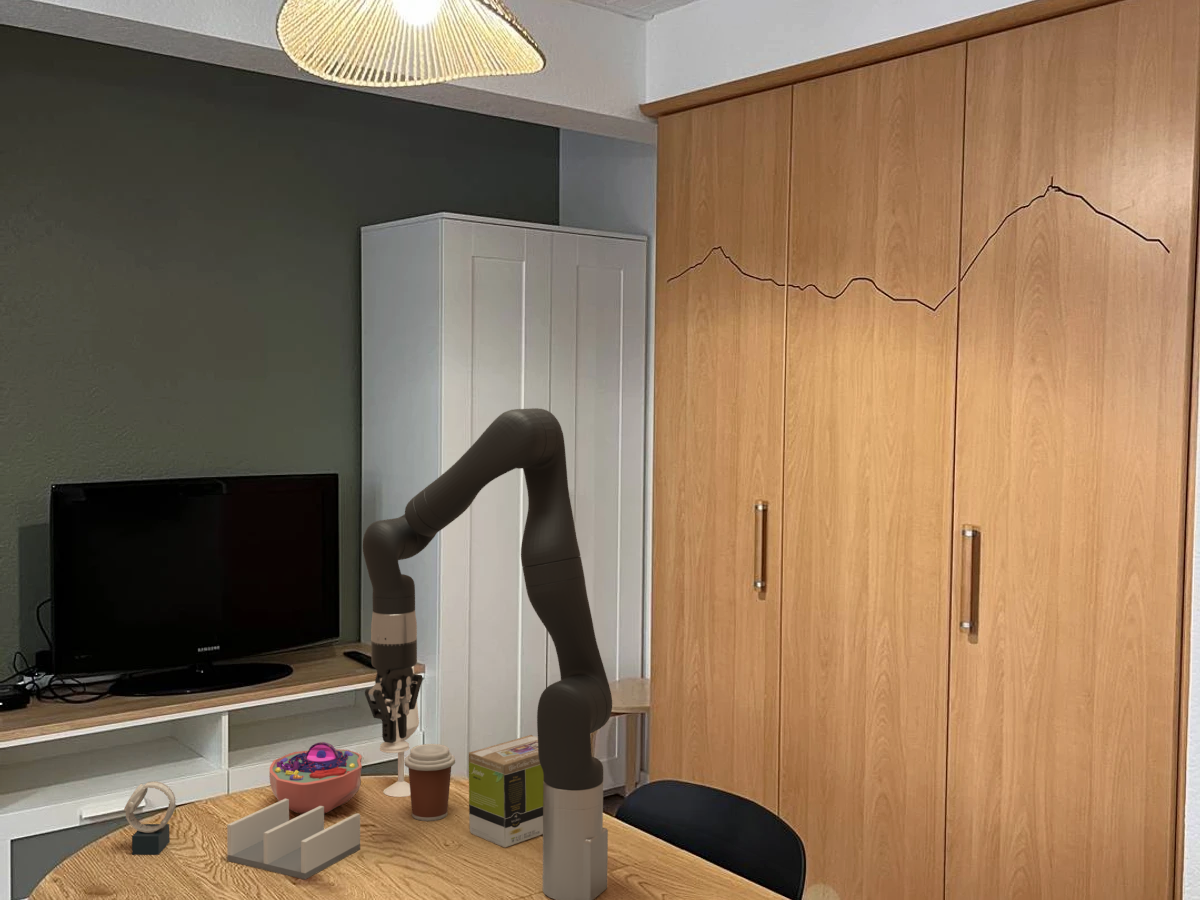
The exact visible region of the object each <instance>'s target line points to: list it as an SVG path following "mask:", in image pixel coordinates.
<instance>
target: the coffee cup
mask: <svg viewBox="0 0 1200 900" xmlns="http://www.w3.org/2000/svg"><path fill="white" fill-rule="evenodd" d="M455 764H456V757H455V755H454V754H452V753H451V752H450V748H449V747H448V746H446V745H444V744H439V743H424V744H419V745H415V746H414V747H412V748H411V749H410V750H409V754H408V755H407V756H405V757H404V767H406V768H408V777H409V778H408V779H409V784H410V794H411V795H410V803H411V817H412V818H413V819H414V820H418V821H424V822H434V821H440V820H443V819H444V818H446V817H448V810H449V797H450V785H451V775H452V766H454V765H455Z"/></svg>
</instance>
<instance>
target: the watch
mask: <svg viewBox="0 0 1200 900" xmlns="http://www.w3.org/2000/svg"><path fill="white" fill-rule="evenodd" d="M148 789H156V790H159V791H160V792H162V793H164V795H165V796H166V797H167V799H168V802H169V803H168V807H167V810H166V812H165V815H164V817H163V819H162V820H161V821H160V823H142V822H141V821H139V820H138V819H137V817H136V816H135V811H136V810H137V809H138V807H139V806H140V804H141V803H142V802H143V800H144V798H145V797H146V794H147V793H148ZM176 807H177V804H176V795H175V793H174V791H173V789H171V788H170V787H169V786H168V785H167V784H165V783H164V782H160V781H148V782H146V783H144V784H143V783H141V784H139V785H138V786H137V787H136V788H135V790H134V791H133V793H132V794H131V796H130V797H129V799H128V800H127V802H126V804H125V806H124V809H123V810H124V811H125V818H126V820H127V822H128V824H129V825H130V826H131V827H132V828H133V829H135V830H136V832H134V834H132V836H131V851H132V852H131V854H132V856H134V855H135V856H140V855H141V856H143V855H144V856H145V855H146V856H152V855H153V856H159V855H160V854H161V853H162V852H163V851H164V849H165V848H166V847H167V846H168V845H169V844H170V842H171V841H170V836H171V835H170V824H169V823H168V822H169V821H170V819H171V818H172V817H173V814H174V812H175V810H176Z"/></svg>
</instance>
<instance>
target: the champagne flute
mask: <svg viewBox="0 0 1200 900" xmlns="http://www.w3.org/2000/svg"><path fill="white" fill-rule="evenodd" d="M412 669H413V673H414V674H415V666H413V667H412ZM411 696H412V695H411ZM386 700H388V701H390V699H386ZM409 702H410V701H409ZM418 707H419V706H418V700H417V701H416V705H415V708H414V709H410V710H409V714H408V715H407V731H406V737H405V738H402V739H401V740H403V741H406V740H408V739H409V738H410V737H411V736H412V735H413V734H414V733H415V732H416V731H417V729H418V727H419V724H420V722H419V721H420V720H419V708H418ZM387 709H388V712H389V713H390V707H389V706H387ZM382 792H383V794H384V795H386V796H389V797H395V798H399V797H401V798H403V797H404V798H405V797H409V796H410V797H411V794H410V782H407V781H406V780H405V751H404V752H400V753H397V781H396V782H393V784H391V785H389V786H388V787H386V788H385V789H384V790H383V791H382Z"/></svg>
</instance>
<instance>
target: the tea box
mask: <svg viewBox="0 0 1200 900" xmlns="http://www.w3.org/2000/svg"><path fill="white" fill-rule="evenodd" d="M543 781H544V774H543V769H542V767H541V765H540V761H539V755H538V736H535V735H532V734H529V735H525V736H523V737H519V738H515V739H512V740H508V741H504V742H501V743H497V744H494V745H490V746H488V747H487V746H486V747H484V748H480V749H477V750H473V751H469V752H468V815H469V817H468V821H469V833H470V834H471V835H474V836H475V837H478V838H481V839H484V840H486V841H488V842H490V843H492V844H494V845H497V846H500V847H503V848H508V847H511V846H513V845H516V844H519V843H522V842H524V841H527V840H530V839H533V838H536V837H540V836H541V835H543Z"/></svg>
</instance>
